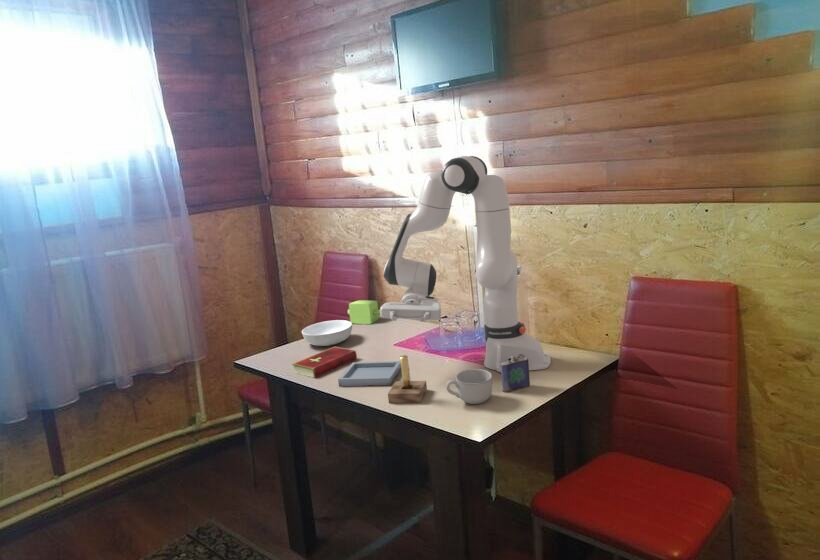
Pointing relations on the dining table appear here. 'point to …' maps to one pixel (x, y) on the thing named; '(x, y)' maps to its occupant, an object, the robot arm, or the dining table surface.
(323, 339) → the serving bowl
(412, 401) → the pin block
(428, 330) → the dining table surface
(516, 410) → the dining table surface
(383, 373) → the tray
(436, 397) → the dining table surface
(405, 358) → the pin
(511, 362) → the flask
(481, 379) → the teacup
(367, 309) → the gearbox
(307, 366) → the hardcover book
